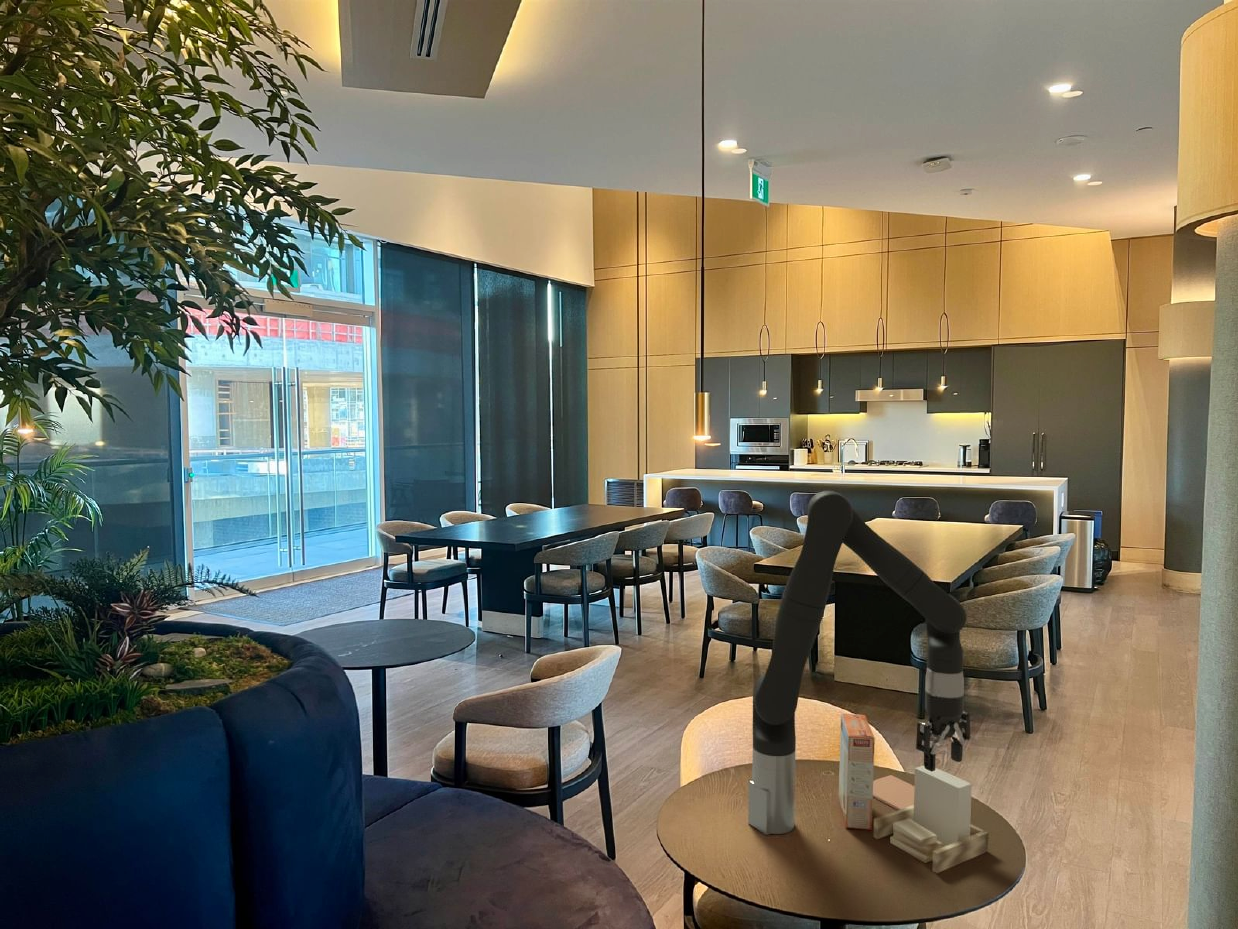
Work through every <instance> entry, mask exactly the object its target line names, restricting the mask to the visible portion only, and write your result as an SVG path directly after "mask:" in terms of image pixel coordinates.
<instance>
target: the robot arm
mask: <svg viewBox="0 0 1238 929" xmlns="http://www.w3.org/2000/svg"><path fill="white" fill-rule="evenodd" d="M806 509H807V512H806V513H807V523H806V527H805V528H806V529H805V533H804V539H803V543H802V548H801V551H800V554H799V556H798V558H797V560H796V562H795V564H794V566H793V568H792V570H791V572H790V575H789V577H788V579H787V582H786V585H785V587H784V590H783V593H782V596H781V600H780V603H779V606H778V611H777V615H776V620H775V625H774V626H775V627H774V633H773V640H772V642H773V643H772V649H771V655H770V659H769V662H768V666H767V668H766V671H765V673H763V674H761V675H760V676H759V677H758V678H757V679H756V681H755V683H754V685H753V689H752V772H751V773H752V774H751V776H752V777H751V778H752V780H749V781H748V796H747V797H748V798H747V799H748V800H747V801H748V805H747V806H748V807H747V809H748V810H747V813H748V814H747V815H748V816H747V823H748V824H749V825H750V826H751V827H753V828H755V829H757V830H758V831H759V832H761V833H762V834H763V835H782V834H787V833H789V832H792V830H793V829H794V828H795V811H796V810H795V809H796V808H795V806H796V803H795V802H796V801H795V800H796V798H795V796H796V792H795V791H796V786H795V785H796V742H797V740H796V716H795V715H796V711H797V707H798V702H799V696H800V690H801V686H802V685H801V684H802V679H803V674H804V670H805V668H806V664H807V662H808V659H809V657H810V653H811V650H812V648H813V645H814V644H815V641H816V637H817V634H818V632H819V629H820V625H821V623H822V619H823V617H824V613H825V610H826V606H827V603H828V602H827V601H828V599H829V596H830V595H829V594H830V590H831V586H832V580H833V575H834V569H835V564H836V562H837V558H838V555H839V553H840V550H841V548H842V545H843V544H844V546H846V547H847V548H848V549H850V550H851V551H852V552H854V554H856V555H857V556H858V558H860V559H861V561H863V562H864V563H865V564H866V565H867V566H868V568H870V569H871V571H873V573H874V574H875V575H877V576H878V578H879V579H881V580H882V581H883V582H884V583H885V584H886V585H887V586H888V587H890V589H892V590H893V592H895V593H896V594H898V595H899V596H900V597H901V598H902V599H904V600H905V601H906V602H908V603H909V604H910V605H911V606H913V608H914V609H916V610H917V612H918V613H919V614H920V615H921V616H922V617H924V619H925V625H926V626H925V627H926V636H927V651H926V652H927V654H926V673H925V686H924V687H925V688H924V689H925V691H924V692H925V693H924V694H925V696H924V709H925V711H926V712H927V713H928V719H927V721H925V722H923V721H920V720H919V721H917V726H916V743H915V748H916V750H918V751H920V752H922V753H923V765H924V767H925V769H927V770H929V771H931V772H932V771H935V768H936V751H937V749H938V747H939V746H941V745H942V744H943V742H944V740H946V739H950V740H951V742H950V743H951V744H950V759H951V760H952V761H954V762H957V763H960V762H962V761H963V751H964V749H963V747H964V745H965V742H966V741H969V740H970V739H971V717H970V716H971V714H970V713H969V712H966V711H965V709H964V707H965V706H964V702H965V699H964V698H965V696H964V695H965V694H964V693H965V692H964V690H965V681H964V651H963V646H962V643H961V639H960V635H961V633H960V632H961V630H962V629H963V628H964V627H965V625H966V623H967V613H966V610H965V608H964V606H963V605H962V604H961V603H960V601H958V599H957V598H956V597H954V596H953V595H952V594H949V593H947V592H946V591H945V590H943V589H942V588H941V587H940V586H938V585H937V584H936V583H934V581H933V580H932V578H931V577H930V576H929V575H928V574H927V573H926V572H925V571H924V570H922V569H921V568H920V567H919V566H918V565H917V564H915V563H914V562H913V561H912V560H911V559H910V558H908V556H906V555H904V553H902V552H901V551H900V550H898V549H897V548H896V547H894V546H893V545H891V544H890V543H889V542H888V541H886V539H884V538H883V537H882V536H881V535H879V534H878V533H877V532H876V531H874V530H873V529H872V528H871V527H870V526H869V525H868V524H867V523H866V522H865V521H864V520H863V519H862V518H861V517H860V515H858V513H857V512H856V511H855V510H854V509H853V507H852V504H851V503H850V501H849V500H848V499H847V497H846V496H844V495H843V494H842V493H840V492H838V491H836V490H823V491H819V492H817V493H816V494H815V495H813V496H812V497H811V499H810V500H809V502H808V505H807V508H806ZM963 729H964V731H963ZM932 736H933V737H932ZM934 737H935V738H934ZM931 743H932V745H931Z"/></svg>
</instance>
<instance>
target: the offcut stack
mask: <svg viewBox="0 0 1238 929" xmlns="http://www.w3.org/2000/svg"><path fill="white" fill-rule="evenodd" d="M893 830H894V833H893V835H891V836H890V842H889V843H890V844H892V845H894V846H896V847H897V848H898V849H900V850H902V851H903V852H905V853H907V854H909V855H910V856H913V857H914V858H915V859H918V860H919V861H921V862H922V863H925V864H926V863H929V862H931V861H932V862H933V851H935V850H938V849H940V848H942V843H941V842H939V841H937V835H935V834H934V833H932V832H930V831H929V830H927V829H926V828H924V827H922V826H921V825H919V824H917V823H916V822H914V821H912V820H911V819H906V820H902V821H898V822H895V823H893Z"/></svg>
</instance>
